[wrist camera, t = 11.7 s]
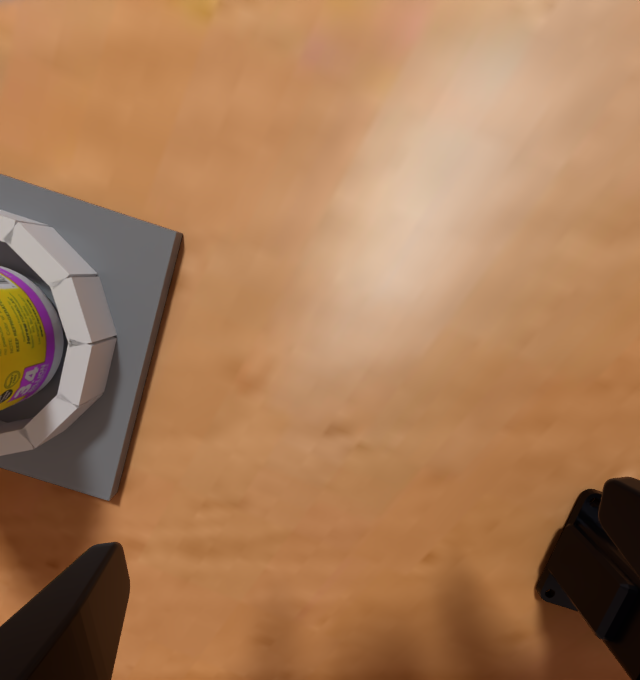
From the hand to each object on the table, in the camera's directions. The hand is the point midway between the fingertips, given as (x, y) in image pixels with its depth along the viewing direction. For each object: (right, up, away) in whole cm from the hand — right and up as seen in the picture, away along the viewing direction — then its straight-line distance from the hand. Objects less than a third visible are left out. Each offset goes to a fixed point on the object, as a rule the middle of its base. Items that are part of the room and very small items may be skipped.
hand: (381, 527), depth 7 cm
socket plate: (-16, +4, +13) cm, 21 cm away
